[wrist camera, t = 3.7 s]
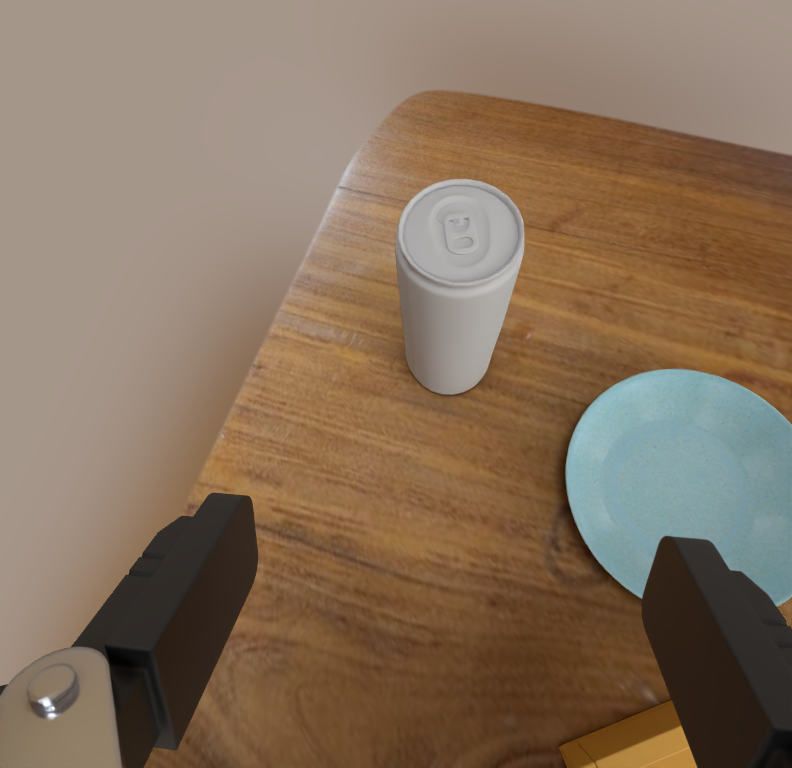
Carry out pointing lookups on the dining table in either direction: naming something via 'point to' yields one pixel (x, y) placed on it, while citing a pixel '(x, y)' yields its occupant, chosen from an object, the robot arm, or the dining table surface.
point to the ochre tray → (634, 743)
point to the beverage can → (456, 279)
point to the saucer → (684, 476)
